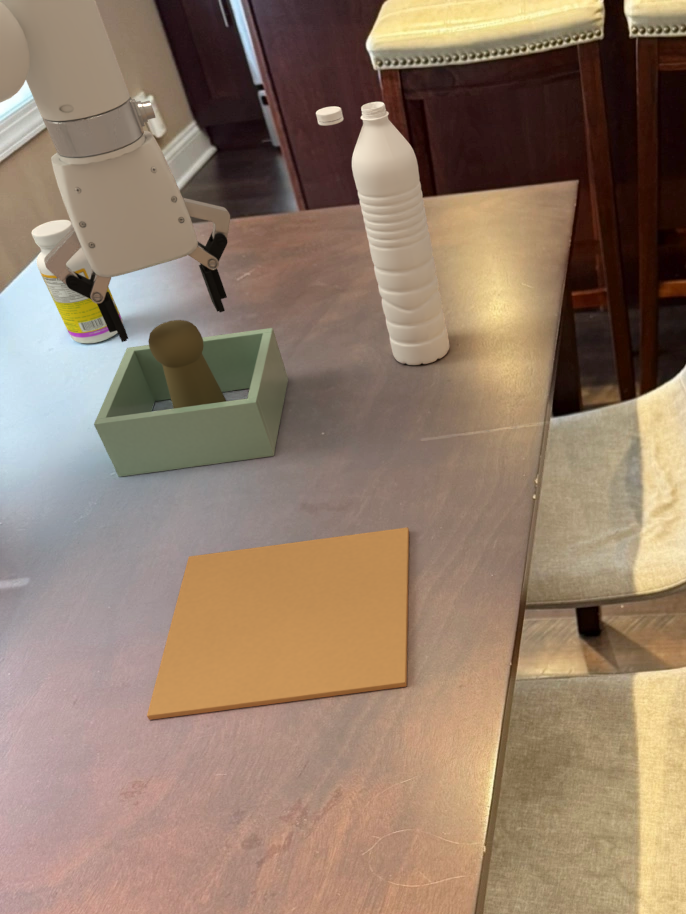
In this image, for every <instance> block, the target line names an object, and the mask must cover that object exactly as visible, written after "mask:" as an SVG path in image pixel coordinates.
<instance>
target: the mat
mask: <svg viewBox="0 0 686 914" xmlns="http://www.w3.org/2000/svg"><path fill="white" fill-rule="evenodd" d="M409 558H410V529H409V527H408V526H407V527H406V526H405V527H401V528H392V529H383V530H377V531H370V532H362V533H354V534H347V535H340V536H333V537H324V538H317V539H316V538H315V539H310V540H302V541H295V542H294V541H293V542H287V543H279V544H272V545H265V546H257V547H256V546H255V547H250V548H241V549H235V550H227V551H219V552H213V553H212V552H211V553H205V554H199V555H198V554H196V555H190V556H188V557H187V562H186V565H185V568H184V569H185V570H184V573H183V577H182V581H181V585H180V588H179V592H178V595H177V598H176V599H177V600H176V603H175V607H174V610H173V611H174V612H173V614H172V618H171V622H170V626H169V629H168V633H167V638H166V642H165V644H164V649H163V651H162V652H163V653H162V657H161V661H160V664H159V668H158V672H157V675H156V679H155V684H154V687H153V690H152V693H151V694H152V695H151V698H150V702H149V707H148V710H147V714H146V717H147V719H148V720H149V721H151V720H159V719H166V718H175V717H182V716H183V717H184V716H191V715H196V714H197V715H198V714H205V713H214V712H221V711H228V710H237V709H244V708H251V707H259V706H267V705H275V704H282V703H289V702H297V701H305V700H306V701H307V700H313V699H320V698H328V697H335V696H337V697H338V696H344V695H352V694H358V693H367V692H376V691H381V690H389V689H396V688H404V687H407V684H408V683H407V682H408V631H409V629H408V628H409V627H408V625H409V623H408V622H409V621H408V620H409V566H410V565H409V563H410V561H409V560H410V559H409Z"/></svg>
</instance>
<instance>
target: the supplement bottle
mask: <svg viewBox="0 0 686 914" xmlns="http://www.w3.org/2000/svg"><path fill="white" fill-rule="evenodd" d="M72 228H73V226H72V223H71V220H70V219H69V220H68V219H55V220H50V221H47V222H44V223H42V224H39V225H37V226H36V227H34V228H33V229H32V230H31V236H32V238H33V240H34V243H35V245H37V246H38V247H39V248H40V252H39V254H38V255H37V257H36V266H37V269H38V271H39V273H40V275H41V277H42V279H43V281H44V284H45V286H46V288H47V291H48V292H49V294H50V296H51V298H52V301H53V303H54V305H55V307H56V309H57V311H58V313H59V315H60V318H61V319H62V322H63V324H64V326H65V328H66V331H67V332H68V334H69V337H70V338H71V339H72V340H73V341H75V342H77V343H79V344H96V343H100V342H103V341H106V340H108V339H111V338H112V337H114V336H115V335H117V334H118V332H117V331H114V332H109V330H108V327H107V325H106V323H105V321H104V318H103V316H102V314H101V312H100V309H99V307H98V305H97V303H94V302H93V301H92V300H91V299H90V298H87V297H85V296H83V295H81V294H79V293H77V292H75V291H73V290H71V289H69V288H68V287H67V285H66V284H65V283H63V282H62V281H61V280H59V279H58V278H57V277H56V276H55V275H54V274H52V273H51V272H50V271H49V270H48V269H47V268H46V266H45V262H44V258H45V257H46V256H47V255H48V254H49V253H50V252H51V250H52V249H53V248H54V247H55V246H56V245H57V244H58V243H59V242H60V241H61V240H62V239H63V238H64V237H65V236H66V235H67V234H68V232H69V231H70V230H71V229H72ZM66 265H67V266H68V267H69V268H70V269H71V270H72V271H73V272H75V273H77V274H79V275H81V276H83V277H86V278H88V279H89V277H90V274H91V271H92V268H91V266H90V264H89V262H88V261H87V259H86V256H85V254H84V252H83V250H82V248H80V249H79V250H78V251H77V252H76V253H75V254H74V255H73V256H72V257H71V258H70V259H69V260H68V262H67V263H66ZM108 291H109V293H110V296H111V298H112V300H113V303H114V305H115V307H116V309H117V312H118V314H119V316H120V319H121V321H122V323H123V324H124V320H123V318H122V316H121V313H120V310H119V308H118V306H117V304H116V301H115V299H114V296H113V294H112V292H111V290H110V287H109V286H108V289H107V292H108Z"/></svg>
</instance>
